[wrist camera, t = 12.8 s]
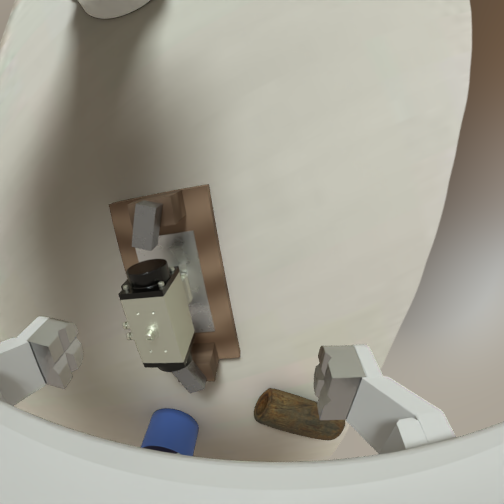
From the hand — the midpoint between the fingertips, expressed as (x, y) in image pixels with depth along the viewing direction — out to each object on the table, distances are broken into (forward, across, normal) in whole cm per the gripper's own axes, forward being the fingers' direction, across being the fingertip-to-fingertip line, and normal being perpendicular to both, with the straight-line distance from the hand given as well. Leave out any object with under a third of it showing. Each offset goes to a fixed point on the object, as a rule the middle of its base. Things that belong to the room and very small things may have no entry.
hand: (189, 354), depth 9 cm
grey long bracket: (+28, +8, +12) cm, 31 cm away
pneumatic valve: (+28, +8, +12) cm, 31 cm away
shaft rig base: (+29, +8, +12) cm, 33 cm away
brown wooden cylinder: (+29, -11, +34) cm, 46 cm away
